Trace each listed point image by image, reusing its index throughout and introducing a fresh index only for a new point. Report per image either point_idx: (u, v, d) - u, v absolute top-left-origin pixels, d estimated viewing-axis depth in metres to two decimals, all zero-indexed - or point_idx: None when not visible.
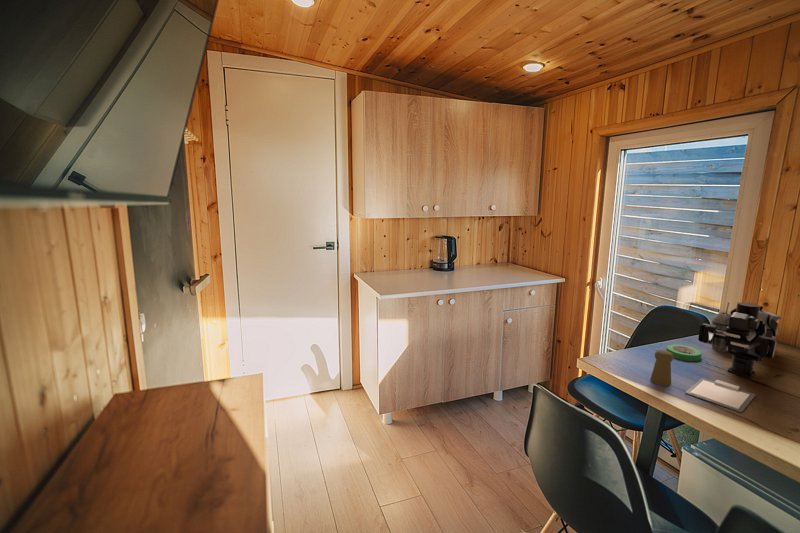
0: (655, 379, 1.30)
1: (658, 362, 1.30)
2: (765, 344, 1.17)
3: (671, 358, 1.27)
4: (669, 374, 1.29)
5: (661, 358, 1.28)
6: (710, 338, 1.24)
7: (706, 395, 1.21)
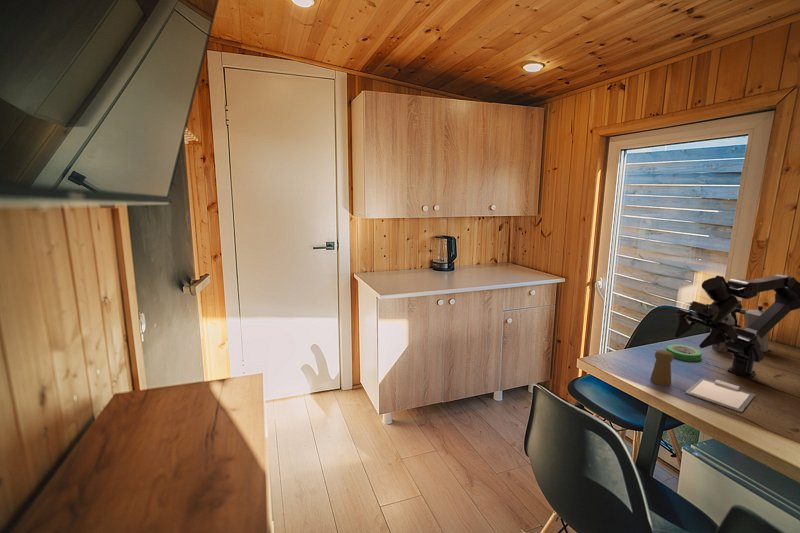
0: (655, 379, 1.30)
1: (658, 362, 1.30)
2: (720, 333, 1.23)
3: (671, 358, 1.27)
4: (669, 374, 1.29)
5: (661, 358, 1.28)
6: (676, 332, 1.35)
7: (706, 395, 1.21)
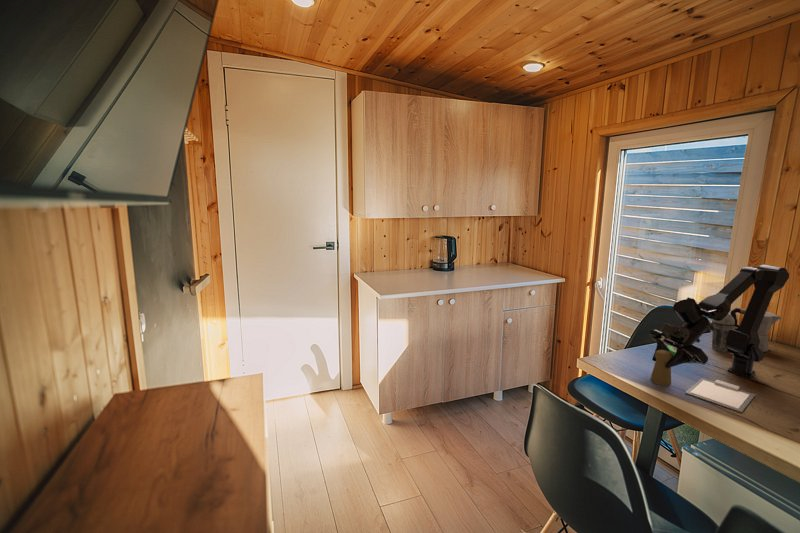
0: (655, 379, 1.30)
1: (658, 362, 1.30)
2: (685, 354, 1.24)
3: None
4: (669, 374, 1.29)
5: (661, 358, 1.28)
6: (654, 356, 1.32)
7: (706, 395, 1.21)
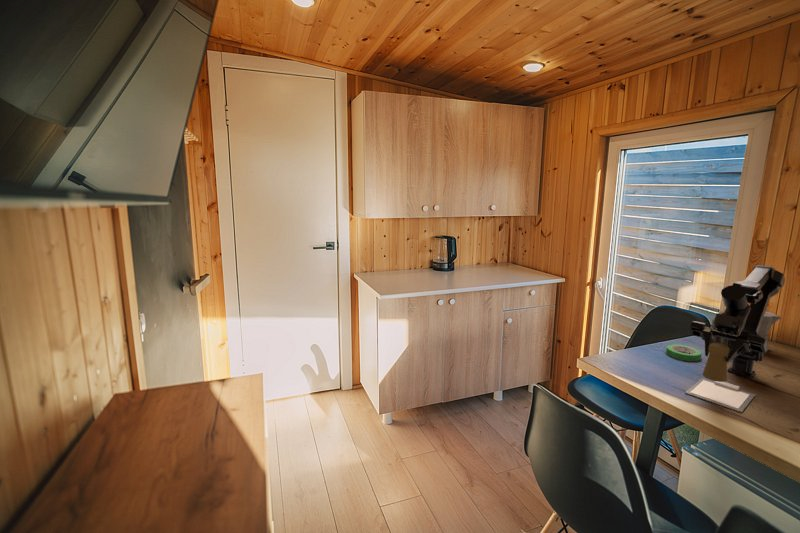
0: (713, 376, 1.18)
1: (716, 357, 1.18)
2: (746, 345, 1.15)
3: (729, 351, 1.17)
4: (726, 368, 1.18)
5: (721, 353, 1.16)
6: (706, 350, 1.21)
7: (706, 395, 1.21)
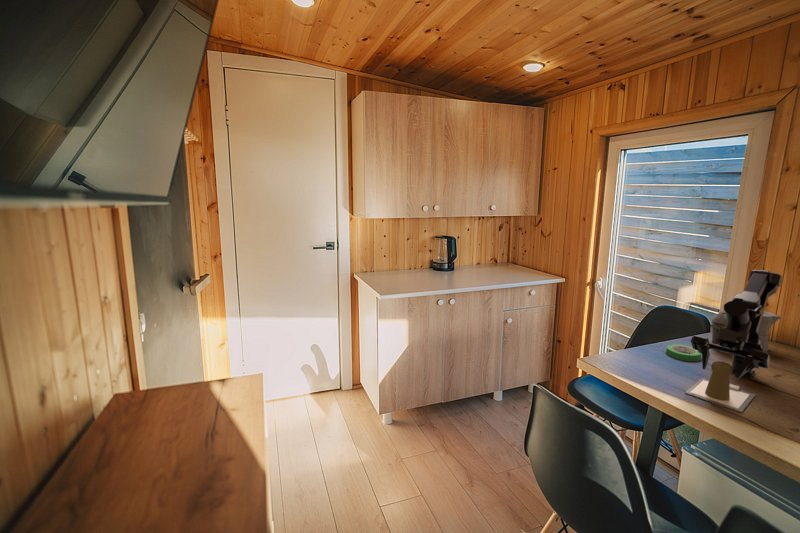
0: (716, 395, 1.19)
1: (719, 376, 1.18)
2: (755, 361, 1.14)
3: (732, 370, 1.17)
4: (729, 387, 1.19)
5: (724, 372, 1.17)
6: (704, 364, 1.22)
7: (706, 395, 1.21)
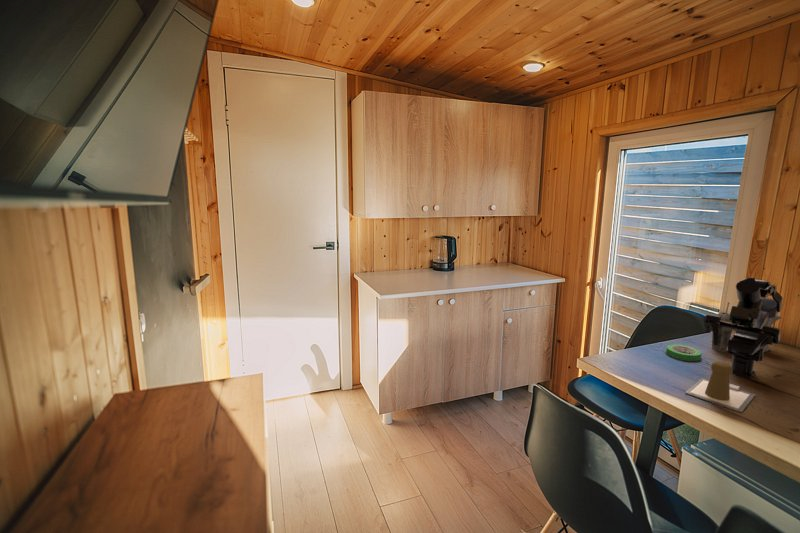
0: (716, 395, 1.19)
1: (719, 376, 1.18)
2: (769, 337, 1.19)
3: None
4: (729, 387, 1.19)
5: (724, 372, 1.17)
6: (715, 340, 1.28)
7: (706, 395, 1.21)
